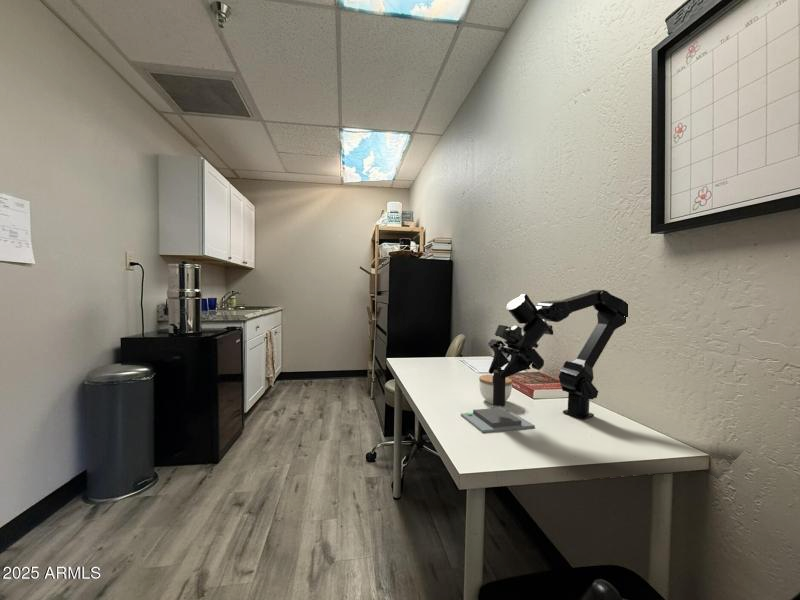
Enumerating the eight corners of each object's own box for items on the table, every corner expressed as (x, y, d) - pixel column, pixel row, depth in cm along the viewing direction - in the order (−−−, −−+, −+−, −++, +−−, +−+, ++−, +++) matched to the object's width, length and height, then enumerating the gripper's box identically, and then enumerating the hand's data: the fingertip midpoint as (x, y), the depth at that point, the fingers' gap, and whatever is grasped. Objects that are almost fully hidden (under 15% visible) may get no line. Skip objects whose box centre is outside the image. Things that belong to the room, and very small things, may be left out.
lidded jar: (513, 408, 103) (514, 378, 102) (478, 404, 105) (480, 376, 105) (509, 398, 113) (510, 371, 113) (477, 395, 115) (478, 368, 115)
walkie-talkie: (505, 407, 88) (506, 352, 88) (492, 405, 89) (493, 351, 89) (504, 401, 92) (505, 349, 92) (492, 400, 93) (493, 348, 93)
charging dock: (507, 411, 99) (508, 405, 99) (534, 427, 88) (534, 421, 88) (460, 415, 95) (460, 409, 95) (482, 432, 83) (482, 425, 83)
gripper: (494, 313, 100) (461, 349, 97) (536, 317, 82) (497, 362, 79) (514, 338, 103) (483, 374, 100) (560, 347, 85) (523, 392, 82)
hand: (495, 375), depth 90 cm, fingers closed on walkie-talkie, 5 cm apart
